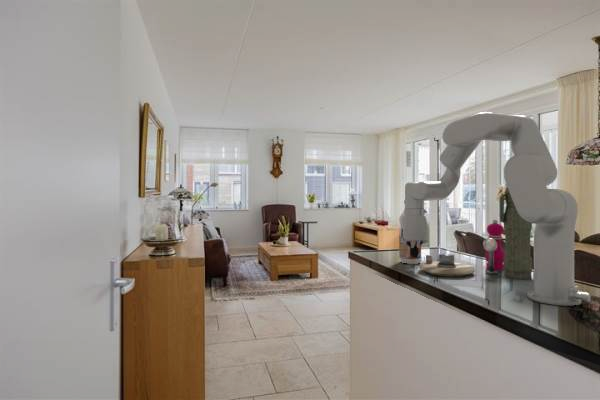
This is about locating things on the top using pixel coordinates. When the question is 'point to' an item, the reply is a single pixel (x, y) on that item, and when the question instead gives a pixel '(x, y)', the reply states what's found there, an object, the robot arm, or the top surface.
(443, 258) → the cover
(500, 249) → the pepper mill
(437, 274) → the turntable base
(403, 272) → the top surface
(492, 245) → the globe topped trophy
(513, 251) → the thermos
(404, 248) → the fruit juice
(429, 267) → the turntable
